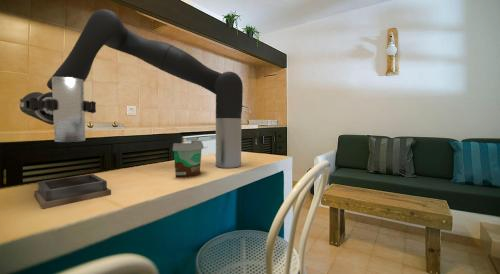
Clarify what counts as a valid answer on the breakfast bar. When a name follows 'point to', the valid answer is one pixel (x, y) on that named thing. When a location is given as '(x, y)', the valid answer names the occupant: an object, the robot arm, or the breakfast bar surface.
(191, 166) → the food container
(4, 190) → the breakfast bar surface
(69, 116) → the silver tall shiny block
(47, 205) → the holder
